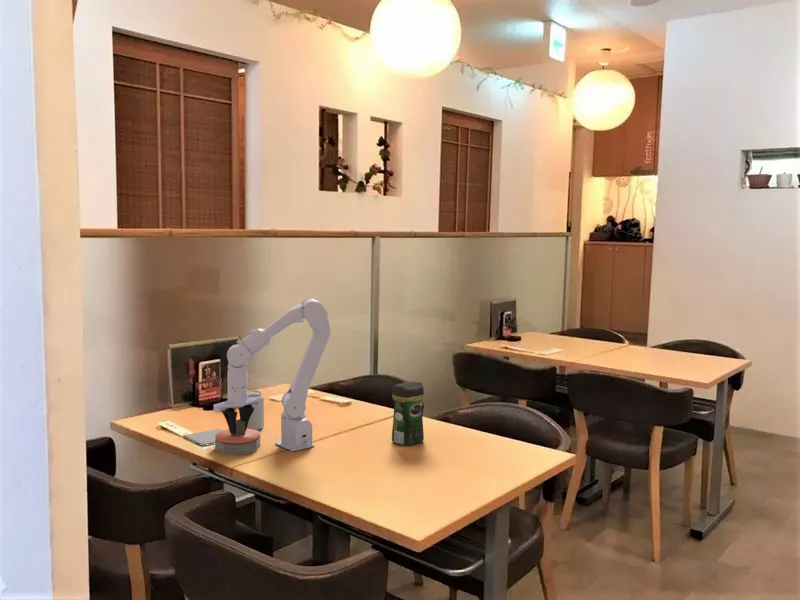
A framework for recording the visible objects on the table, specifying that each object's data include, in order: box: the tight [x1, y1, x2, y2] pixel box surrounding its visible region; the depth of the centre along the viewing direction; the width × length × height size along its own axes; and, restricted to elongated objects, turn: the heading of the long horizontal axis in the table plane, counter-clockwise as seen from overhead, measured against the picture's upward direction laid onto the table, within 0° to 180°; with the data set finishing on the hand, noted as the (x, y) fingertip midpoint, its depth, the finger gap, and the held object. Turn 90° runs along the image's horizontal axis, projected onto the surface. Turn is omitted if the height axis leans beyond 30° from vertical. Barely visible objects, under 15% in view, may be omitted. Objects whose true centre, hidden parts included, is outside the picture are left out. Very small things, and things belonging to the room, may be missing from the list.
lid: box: [215, 418, 261, 444], centre depth 203 cm, size 13×13×5 cm
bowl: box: [214, 437, 261, 456], centre depth 204 cm, size 12×12×3 cm
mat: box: [183, 427, 224, 446], centre depth 213 cm, size 12×12×1 cm
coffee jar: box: [391, 380, 425, 447], centre depth 212 cm, size 10×8×19 cm
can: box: [247, 390, 265, 431], centre depth 224 cm, size 8×8×12 cm
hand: (238, 432), depth 203 cm, fingers closed on lid, 3 cm apart
